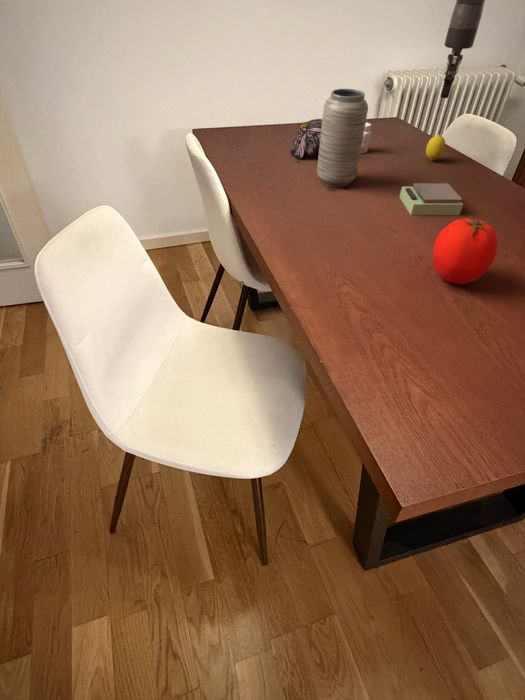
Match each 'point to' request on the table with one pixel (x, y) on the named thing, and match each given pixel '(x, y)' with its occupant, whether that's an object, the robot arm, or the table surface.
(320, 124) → the decorative flower
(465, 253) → the tomato
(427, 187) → the scale pan
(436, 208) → the scale
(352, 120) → the vase
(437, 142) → the lemon
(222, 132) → the table surface
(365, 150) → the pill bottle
